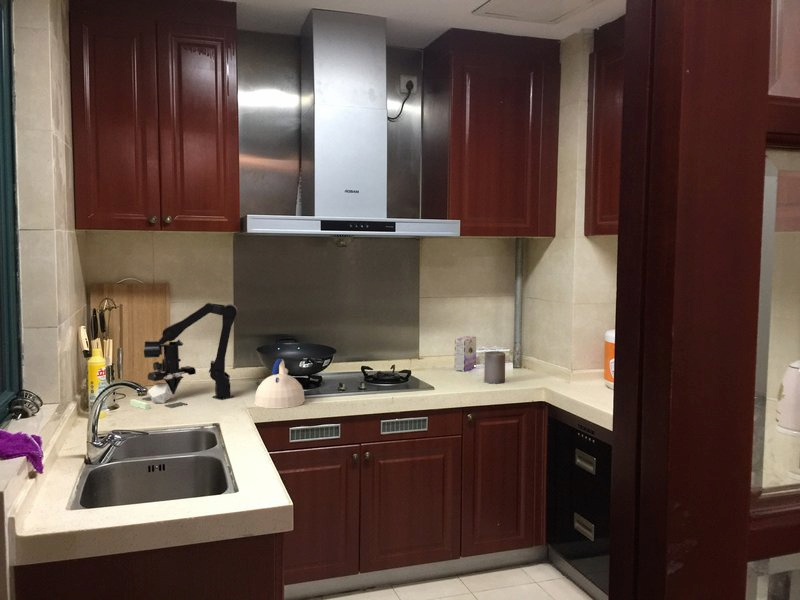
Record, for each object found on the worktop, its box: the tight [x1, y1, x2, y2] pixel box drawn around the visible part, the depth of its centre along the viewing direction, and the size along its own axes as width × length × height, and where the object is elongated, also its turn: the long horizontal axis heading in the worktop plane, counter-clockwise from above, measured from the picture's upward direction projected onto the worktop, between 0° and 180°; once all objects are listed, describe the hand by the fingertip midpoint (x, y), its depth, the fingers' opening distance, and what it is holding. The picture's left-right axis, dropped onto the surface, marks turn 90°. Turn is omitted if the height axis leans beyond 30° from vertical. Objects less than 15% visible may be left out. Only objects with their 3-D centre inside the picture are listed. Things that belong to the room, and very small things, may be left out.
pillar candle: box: [483, 350, 506, 385], centre depth 301 cm, size 10×10×15 cm
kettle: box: [254, 358, 306, 410], centre depth 262 cm, size 20×21×18 cm
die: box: [147, 382, 174, 404], centre depth 263 cm, size 8×9×10 cm
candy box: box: [454, 335, 477, 373], centre depth 332 cm, size 14×6×16 cm, turn 147°
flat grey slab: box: [129, 396, 188, 410], centre depth 261 cm, size 23×15×2 cm, turn 50°
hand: (172, 393), depth 266 cm, fingers closed
